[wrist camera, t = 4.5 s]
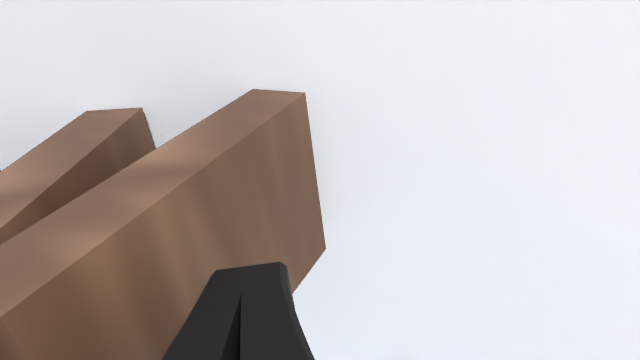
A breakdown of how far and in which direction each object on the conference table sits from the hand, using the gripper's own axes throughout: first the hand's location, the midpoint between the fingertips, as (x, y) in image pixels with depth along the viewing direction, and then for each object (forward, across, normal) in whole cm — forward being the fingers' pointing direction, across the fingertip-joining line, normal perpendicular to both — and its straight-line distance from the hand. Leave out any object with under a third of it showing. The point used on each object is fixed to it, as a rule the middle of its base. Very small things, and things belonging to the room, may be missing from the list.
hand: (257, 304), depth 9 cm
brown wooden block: (+5, -1, 0) cm, 5 cm away
